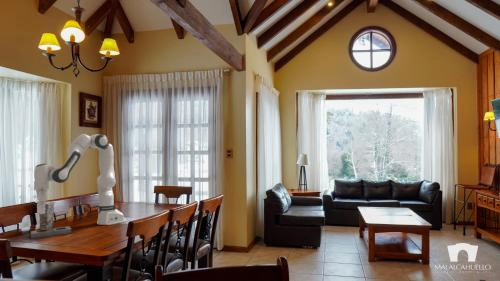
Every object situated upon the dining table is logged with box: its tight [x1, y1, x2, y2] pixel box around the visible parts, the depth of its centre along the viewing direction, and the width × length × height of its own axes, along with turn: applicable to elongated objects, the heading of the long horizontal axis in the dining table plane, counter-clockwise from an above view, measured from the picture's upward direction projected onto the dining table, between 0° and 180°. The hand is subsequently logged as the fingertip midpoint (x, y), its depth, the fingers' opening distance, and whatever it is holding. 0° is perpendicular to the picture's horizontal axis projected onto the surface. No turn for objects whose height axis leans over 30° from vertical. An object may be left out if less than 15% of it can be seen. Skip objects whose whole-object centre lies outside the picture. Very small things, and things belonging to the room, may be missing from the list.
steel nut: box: [36, 201, 46, 215], centre depth 244 cm, size 4×4×8 cm
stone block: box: [38, 201, 55, 230], centre depth 263 cm, size 13×7×20 cm, turn 14°
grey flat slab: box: [30, 225, 72, 239], centre depth 247 cm, size 24×10×3 cm, turn 125°
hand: (41, 207), depth 244 cm, fingers closed on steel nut, 4 cm apart
